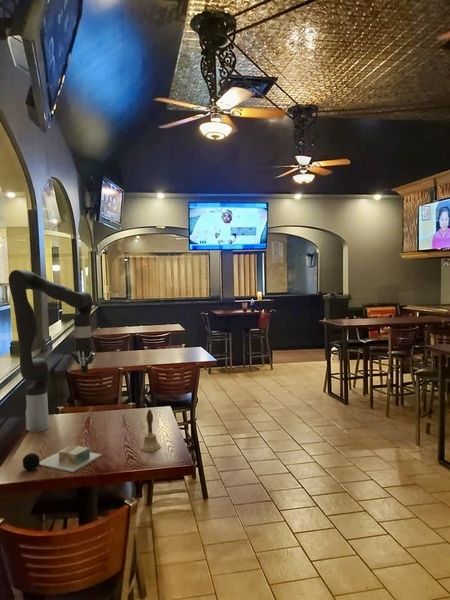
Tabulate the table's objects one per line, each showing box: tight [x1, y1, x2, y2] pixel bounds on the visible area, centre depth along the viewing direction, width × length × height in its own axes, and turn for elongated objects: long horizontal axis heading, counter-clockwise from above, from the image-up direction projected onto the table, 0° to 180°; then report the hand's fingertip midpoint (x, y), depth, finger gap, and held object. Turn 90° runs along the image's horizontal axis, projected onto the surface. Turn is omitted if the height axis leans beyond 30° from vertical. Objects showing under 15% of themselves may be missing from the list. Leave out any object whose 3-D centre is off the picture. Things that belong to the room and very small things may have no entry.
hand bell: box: [139, 409, 161, 453], centre depth 190 cm, size 8×8×16 cm
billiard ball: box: [22, 452, 41, 471], centre depth 172 cm, size 6×6×6 cm
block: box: [58, 444, 91, 465], centre depth 179 cm, size 4×7×9 cm
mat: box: [38, 451, 102, 473], centre depth 180 cm, size 18×16×1 cm
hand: (84, 373), depth 211 cm, fingers closed
